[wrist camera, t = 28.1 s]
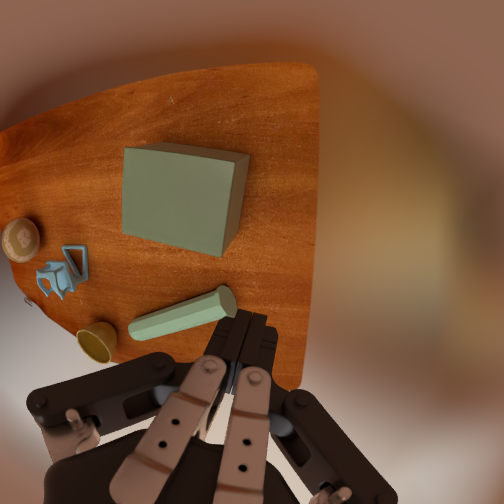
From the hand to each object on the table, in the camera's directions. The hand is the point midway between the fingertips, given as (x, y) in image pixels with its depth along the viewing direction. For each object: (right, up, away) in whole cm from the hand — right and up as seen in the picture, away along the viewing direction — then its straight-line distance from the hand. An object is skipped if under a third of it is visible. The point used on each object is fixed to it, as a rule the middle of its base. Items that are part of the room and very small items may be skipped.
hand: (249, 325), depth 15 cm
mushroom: (-55, +8, +43) cm, 70 cm away
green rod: (-14, -8, +42) cm, 45 cm away
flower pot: (-35, -15, +50) cm, 63 cm away
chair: (-38, +1, +43) cm, 57 cm away
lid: (-10, +11, +23) cm, 27 cm away
